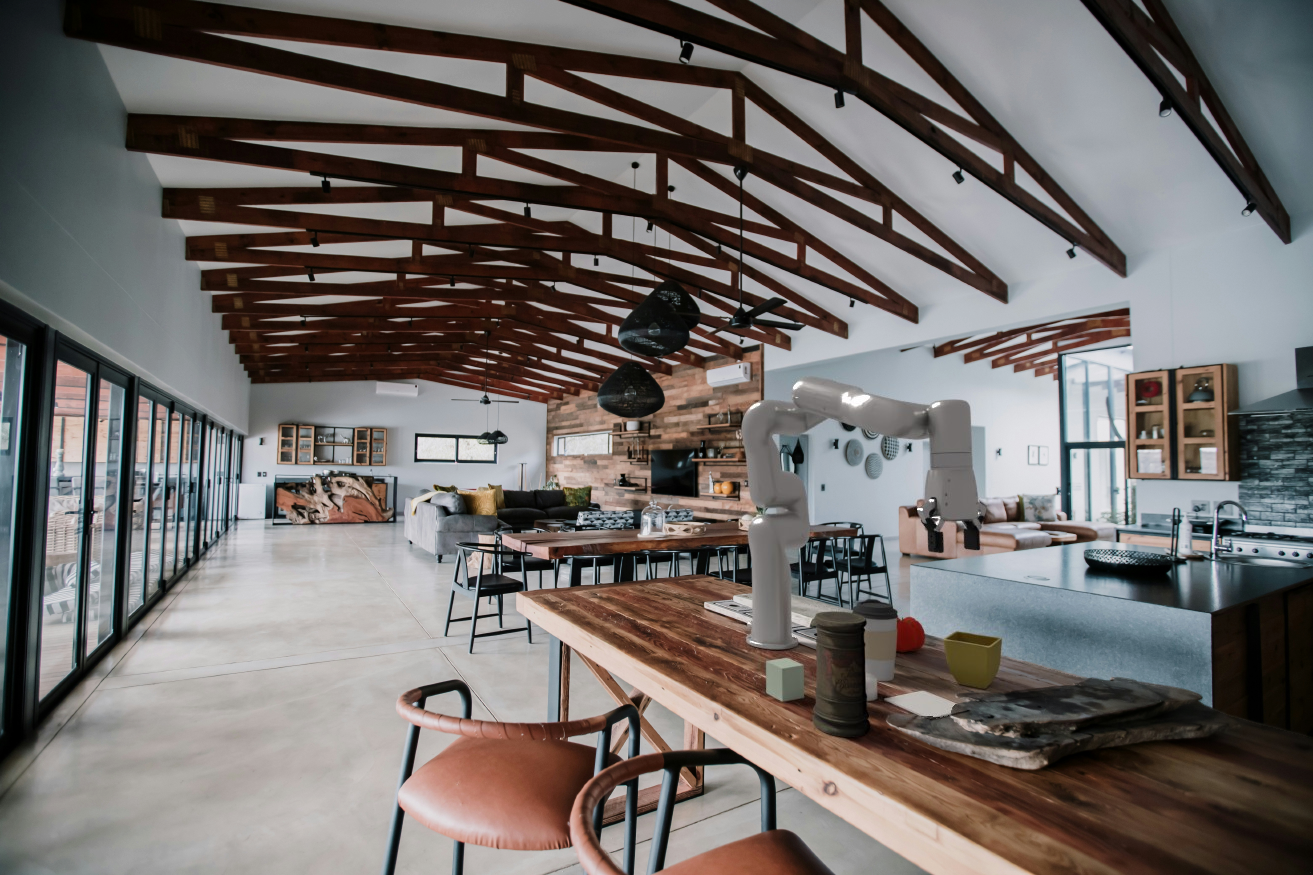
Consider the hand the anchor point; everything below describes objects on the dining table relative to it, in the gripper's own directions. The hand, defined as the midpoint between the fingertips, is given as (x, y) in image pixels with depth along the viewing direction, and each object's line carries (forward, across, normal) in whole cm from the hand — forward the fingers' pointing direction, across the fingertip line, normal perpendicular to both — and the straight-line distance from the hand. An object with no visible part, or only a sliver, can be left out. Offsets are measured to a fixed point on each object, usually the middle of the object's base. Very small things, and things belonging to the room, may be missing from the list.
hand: (954, 550), depth 119 cm
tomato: (+27, -12, -26) cm, 39 cm away
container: (+27, +32, +4) cm, 42 cm away
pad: (+27, +11, +2) cm, 29 cm away
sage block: (+27, +32, -12) cm, 43 cm away
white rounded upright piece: (+27, +18, -6) cm, 33 cm away
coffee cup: (+27, +8, -14) cm, 31 cm away
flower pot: (+27, -7, -2) cm, 28 cm away
